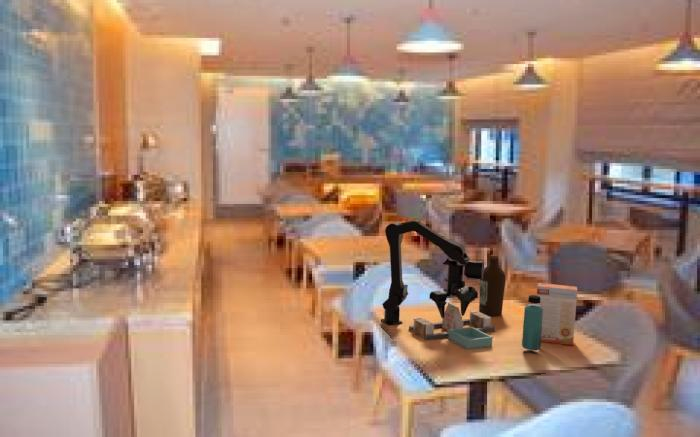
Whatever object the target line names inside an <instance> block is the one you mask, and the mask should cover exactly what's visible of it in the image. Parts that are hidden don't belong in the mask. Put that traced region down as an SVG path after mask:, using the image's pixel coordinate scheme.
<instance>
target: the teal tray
mask: <svg viewBox="0 0 700 437" xmlns="http://www.w3.org/2000/svg"><path fill="white" fill-rule="evenodd" d="M448 332H449V337H447V338H448V339H447V340H449V339H450V341H451V342H453V343H455V344H457V345H458V344H459V346H460V347H462V348H463V349H466V350H467V351H470V350H475V349H484V348H491V347H492V346H493V336H491V335H489V334H487V333H486V332H484V333H483V332H481V331H479V330H477V329H475V327H473V326H468V327H463V328H459V329H451V330H449V331H448Z"/></svg>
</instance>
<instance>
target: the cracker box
mask: <svg viewBox="0 0 700 437" xmlns="http://www.w3.org/2000/svg"><path fill="white" fill-rule="evenodd" d="M536 296H539V297H540V303H535V304H536V305H539V306H541V307H542V309H543V316H542V323H543V324H542V332H541V333H542V334H541V338H542V339H541V342H544V343H552V344H561V345H567V346H573V345H574V338H575V336H574V334H575V326H576V313H577V300H578V286H572V285H561V284H552V283H544V282H542V283H541V282H538V283H537V288H536Z"/></svg>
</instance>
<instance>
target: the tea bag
mask: <svg viewBox="0 0 700 437" xmlns="http://www.w3.org/2000/svg"><path fill="white" fill-rule="evenodd" d="M445 308H446V309H445V312H444V324H443V328H444V330H445V329H446V330H445V331H447V330H448V331H447V332H449V330H451V329H455V322H456V321H461V320H463V316H462V315H461V310H460V307H458V306H457V305H454V304H453V303H450V302H447V306H446V307H445ZM443 328H442V329H443Z"/></svg>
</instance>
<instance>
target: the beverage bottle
mask: <svg viewBox="0 0 700 437" xmlns="http://www.w3.org/2000/svg"><path fill="white" fill-rule="evenodd" d="M527 302H528V303H529V304H527V305H526V306H524V313H523V323H522V334H521V336H522V338H521V342H522V343H521V346H522V348H523V349H525V350H528V351H539V350H540V349H541V346H542V341H541V339H542V338H541V334H542V333H541V332H542V324H543V323H542V316H543V309H542V307H541V306H539V305H536V303H540V297H539V296H537V294H536V295H535V294H531V295H530V294H529V295H528V300H527Z"/></svg>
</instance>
